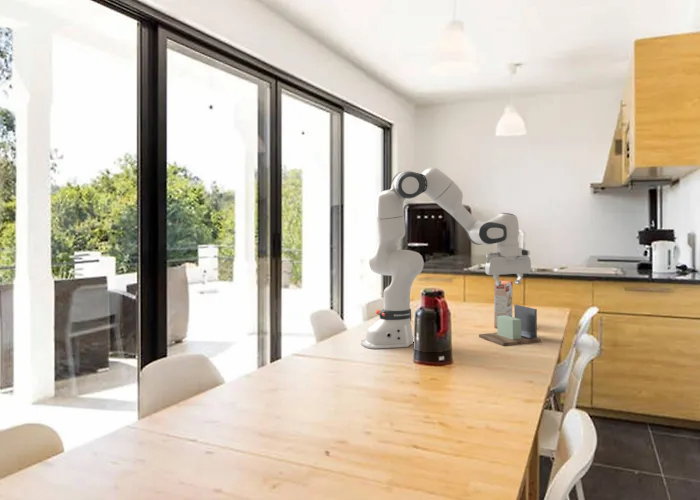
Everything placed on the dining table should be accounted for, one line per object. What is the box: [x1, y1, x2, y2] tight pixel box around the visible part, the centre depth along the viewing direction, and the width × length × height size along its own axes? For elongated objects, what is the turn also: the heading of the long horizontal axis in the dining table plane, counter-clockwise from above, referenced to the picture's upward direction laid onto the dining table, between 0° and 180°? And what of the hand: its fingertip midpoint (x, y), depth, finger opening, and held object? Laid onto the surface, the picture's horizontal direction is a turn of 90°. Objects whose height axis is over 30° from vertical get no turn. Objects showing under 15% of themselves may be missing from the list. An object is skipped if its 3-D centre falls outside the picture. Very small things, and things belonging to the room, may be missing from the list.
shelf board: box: [478, 332, 542, 347], centre depth 220 cm, size 18×18×1 cm
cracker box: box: [493, 280, 514, 329], centre depth 248 cm, size 14×6×21 cm, turn 151°
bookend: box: [513, 304, 538, 339], centre depth 221 cm, size 4×14×12 cm, turn 18°
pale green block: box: [496, 315, 521, 340], centre depth 219 cm, size 4×11×8 cm, turn 18°
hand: (508, 284), depth 219 cm, fingers open, 8 cm apart
